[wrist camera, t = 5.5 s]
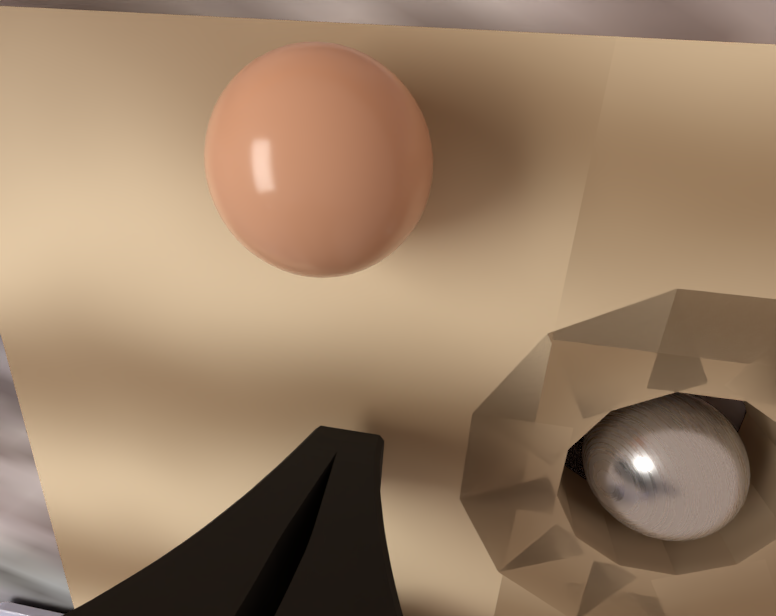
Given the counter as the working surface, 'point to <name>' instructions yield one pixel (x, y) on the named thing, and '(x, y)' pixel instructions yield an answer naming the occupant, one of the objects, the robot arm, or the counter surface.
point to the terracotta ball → (318, 159)
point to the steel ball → (668, 467)
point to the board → (396, 303)
